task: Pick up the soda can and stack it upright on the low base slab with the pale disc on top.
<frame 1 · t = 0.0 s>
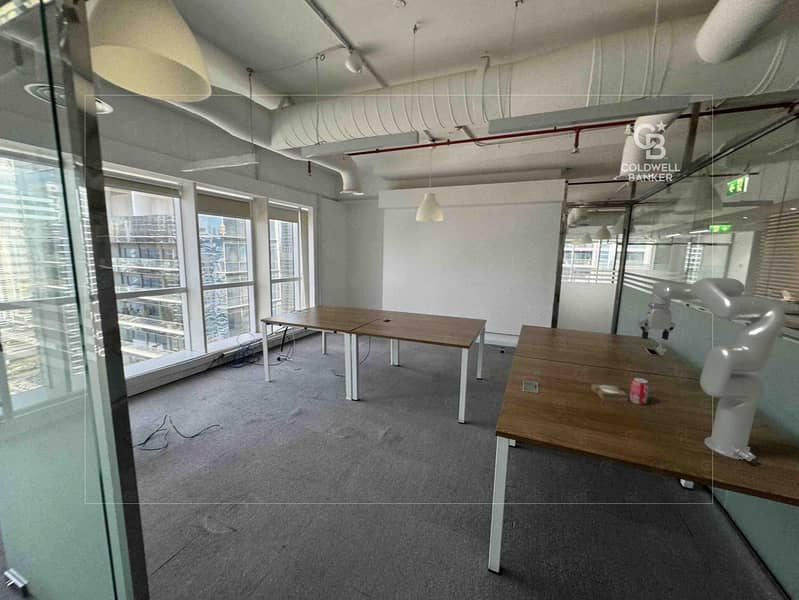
hand: (654, 338, 157), 31 cm above the table, fingers open, 9 cm apart
base: (608, 394, 162), on the table
soda can: (637, 402, 154), on the table
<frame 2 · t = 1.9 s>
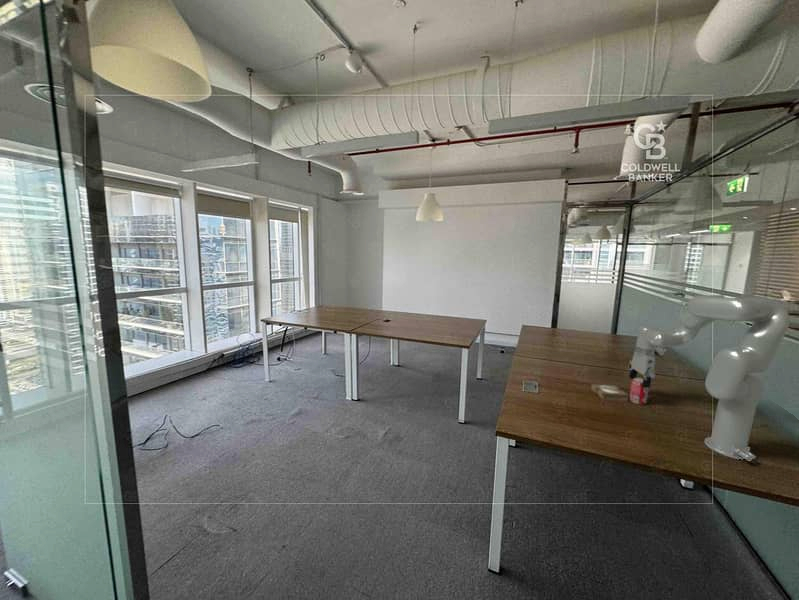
hand: (639, 382, 153), 10 cm above the table, fingers open, 9 cm apart
nothing on the table moved.
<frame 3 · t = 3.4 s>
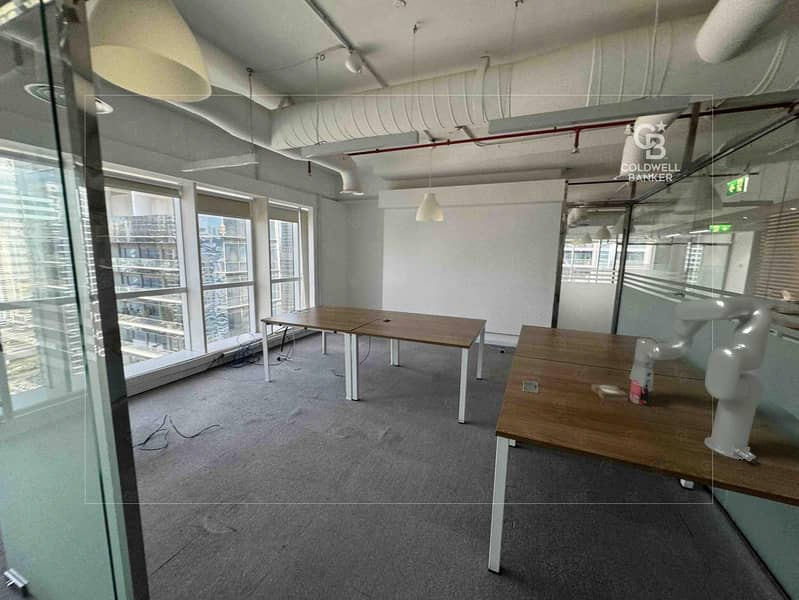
hand: (638, 396, 154), 3 cm above the table, fingers closed on soda can, 7 cm apart
soda can: (637, 402, 155), on the table, touching gripper
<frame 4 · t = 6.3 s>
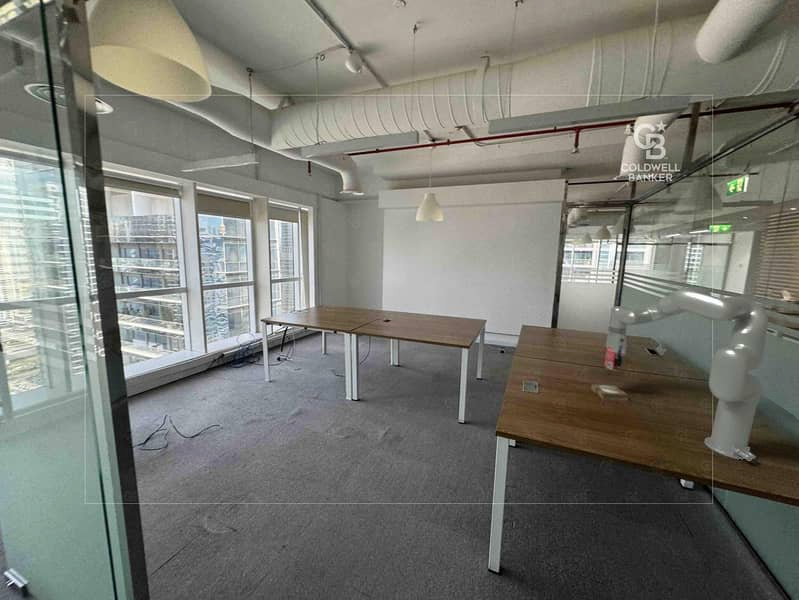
hand: (612, 362, 159), 18 cm above the table, fingers closed on soda can, 7 cm apart
soda can: (612, 369, 160), point 15 cm above the table, touching gripper
when the fingers open (8 cm above the table, at t = 9.0 s): soda can drops 1 cm, resting on base.
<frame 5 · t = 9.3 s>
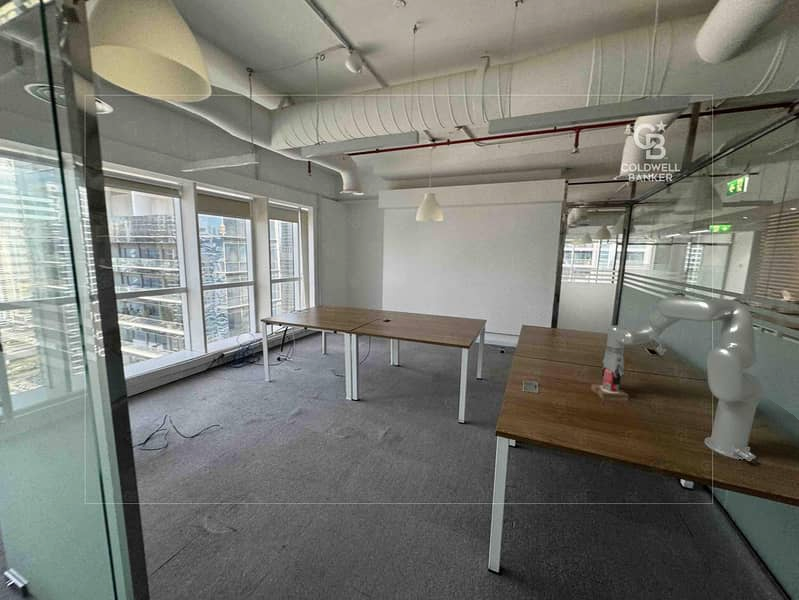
hand: (610, 380, 161), 8 cm above the table, fingers open, 9 cm apart
soda can: (609, 389, 161), point 3 cm above the table, touching base
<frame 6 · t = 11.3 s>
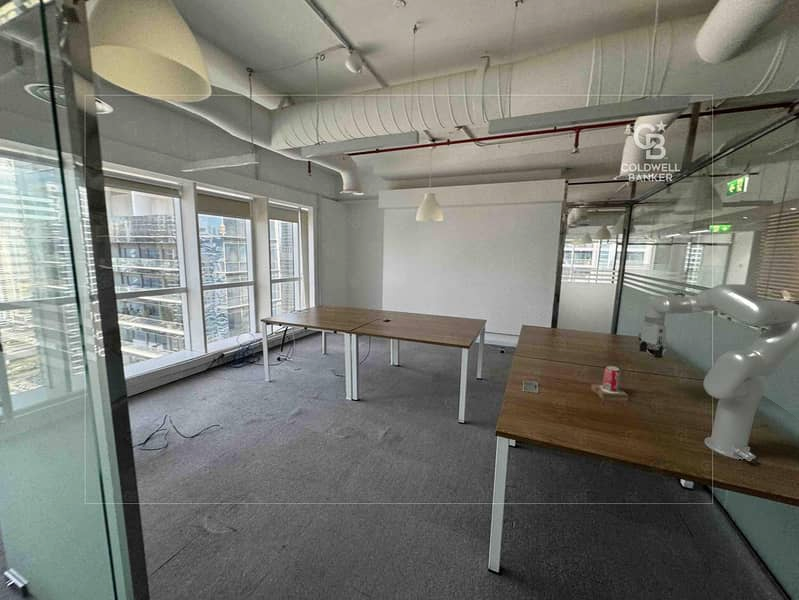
hand: (650, 354, 150), 26 cm above the table, fingers open, 9 cm apart
nothing on the table moved.
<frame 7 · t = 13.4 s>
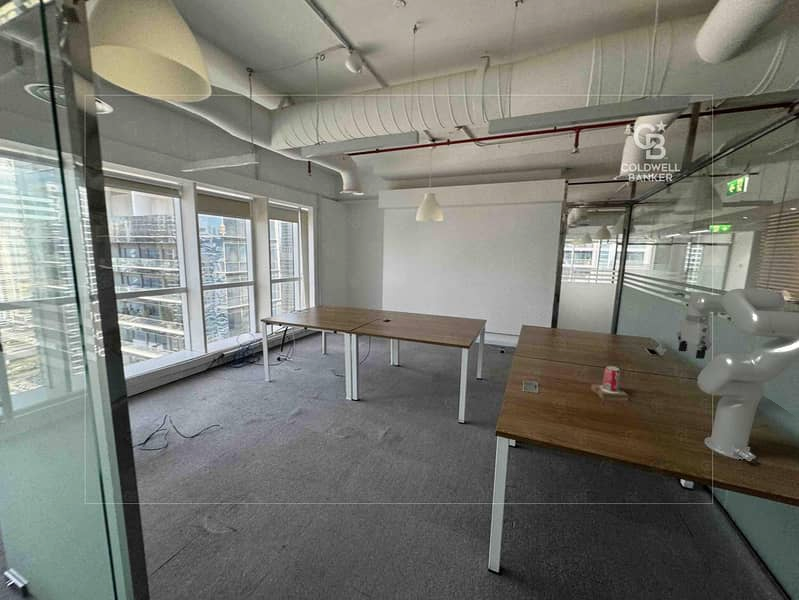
hand: (690, 354, 142), 28 cm above the table, fingers open, 9 cm apart
nothing on the table moved.
at the end: soda can inside the target area on the base (0.3 cm from its centre), point 3.0 cm above the base's base; soda can tilted 0°; the gripper is holding nothing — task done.
